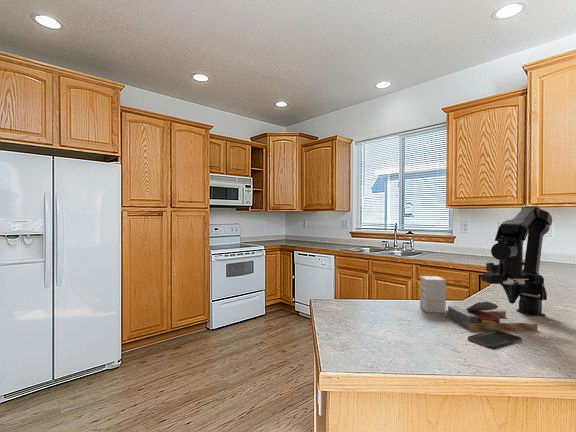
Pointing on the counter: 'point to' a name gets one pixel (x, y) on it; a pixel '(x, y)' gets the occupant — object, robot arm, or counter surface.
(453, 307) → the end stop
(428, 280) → the supplement box
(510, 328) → the guide channel
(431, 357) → the counter surface
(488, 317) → the canned food
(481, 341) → the phone
